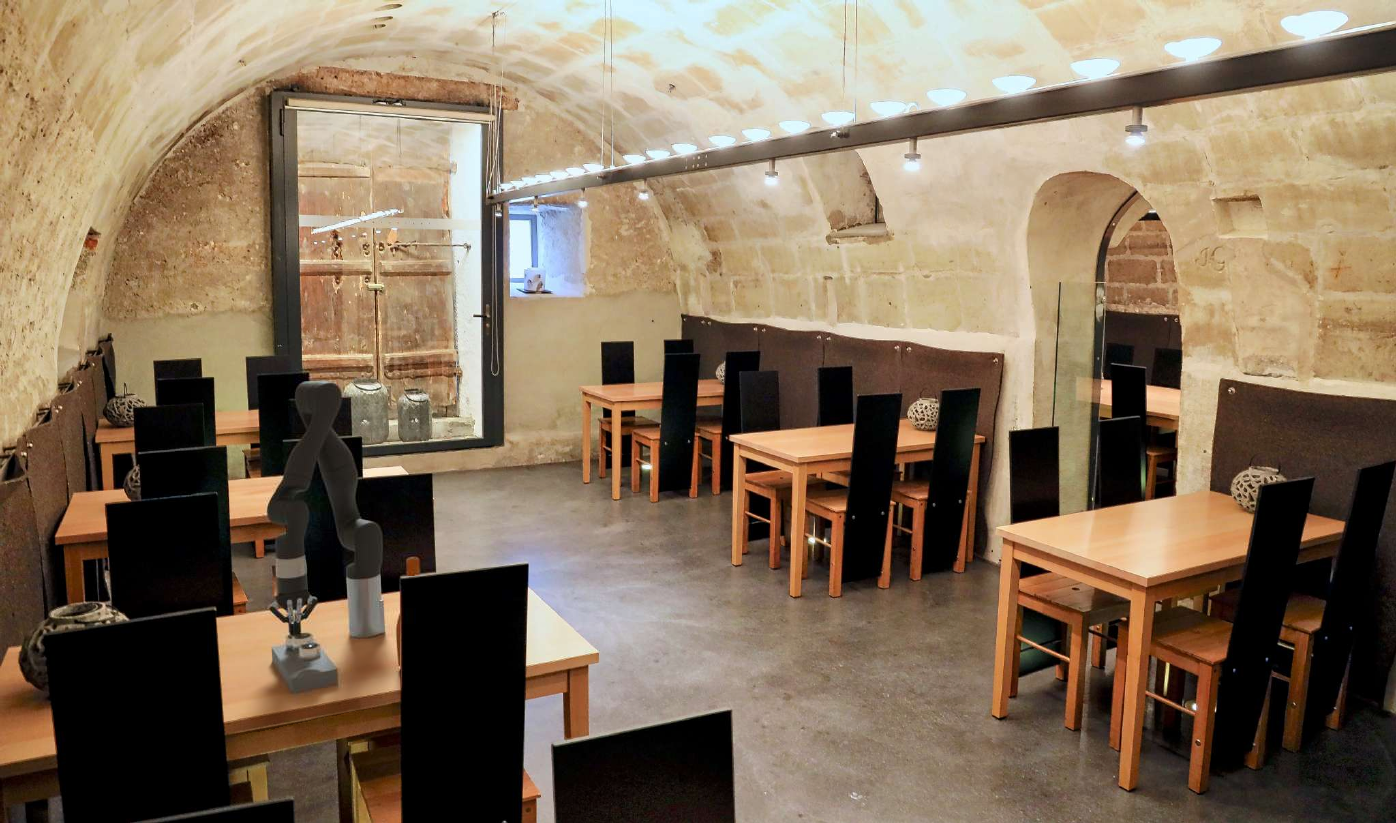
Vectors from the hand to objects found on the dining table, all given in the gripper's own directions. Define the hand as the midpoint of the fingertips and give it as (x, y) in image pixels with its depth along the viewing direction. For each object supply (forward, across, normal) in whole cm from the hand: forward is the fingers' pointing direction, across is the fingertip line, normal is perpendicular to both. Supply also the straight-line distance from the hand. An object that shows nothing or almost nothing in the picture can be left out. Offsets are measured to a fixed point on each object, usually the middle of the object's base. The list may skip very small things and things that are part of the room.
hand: (295, 635), depth 273 cm
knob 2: (+1, 0, +9) cm, 9 cm away
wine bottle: (+8, -26, +22) cm, 35 cm away
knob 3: (+1, 0, +17) cm, 17 cm away
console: (+7, 0, +8) cm, 11 cm away
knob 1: (+3, 0, 0) cm, 3 cm away
